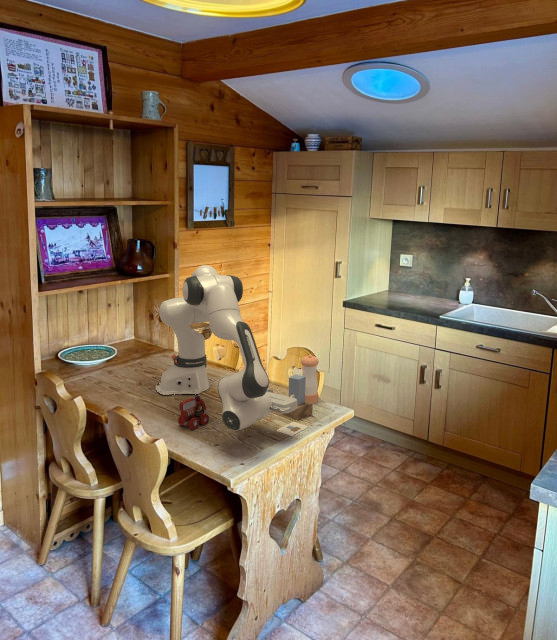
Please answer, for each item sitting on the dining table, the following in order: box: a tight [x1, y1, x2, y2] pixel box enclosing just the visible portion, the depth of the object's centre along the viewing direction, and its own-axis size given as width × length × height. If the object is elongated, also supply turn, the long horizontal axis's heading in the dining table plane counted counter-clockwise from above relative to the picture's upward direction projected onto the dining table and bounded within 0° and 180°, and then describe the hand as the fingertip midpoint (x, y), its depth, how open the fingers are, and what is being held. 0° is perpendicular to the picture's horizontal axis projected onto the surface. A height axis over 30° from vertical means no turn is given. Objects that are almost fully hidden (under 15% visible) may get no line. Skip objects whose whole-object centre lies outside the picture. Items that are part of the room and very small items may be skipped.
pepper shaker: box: [300, 354, 319, 404], centre depth 242 cm, size 7×7×19 cm
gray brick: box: [288, 374, 306, 405], centre depth 228 cm, size 4×4×10 cm
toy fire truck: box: [177, 394, 210, 431], centre depth 220 cm, size 7×12×10 cm, turn 143°
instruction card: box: [276, 421, 310, 437], centre depth 217 cm, size 10×7×1 cm
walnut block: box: [282, 400, 314, 421], centre depth 230 cm, size 8×8×5 cm
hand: (282, 393), depth 219 cm, fingers open, 8 cm apart
